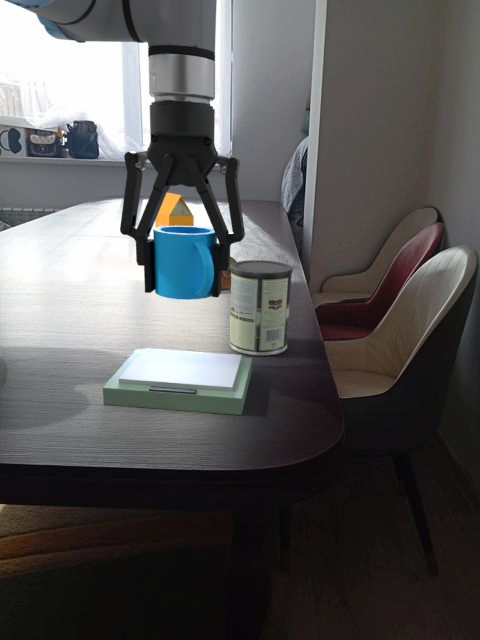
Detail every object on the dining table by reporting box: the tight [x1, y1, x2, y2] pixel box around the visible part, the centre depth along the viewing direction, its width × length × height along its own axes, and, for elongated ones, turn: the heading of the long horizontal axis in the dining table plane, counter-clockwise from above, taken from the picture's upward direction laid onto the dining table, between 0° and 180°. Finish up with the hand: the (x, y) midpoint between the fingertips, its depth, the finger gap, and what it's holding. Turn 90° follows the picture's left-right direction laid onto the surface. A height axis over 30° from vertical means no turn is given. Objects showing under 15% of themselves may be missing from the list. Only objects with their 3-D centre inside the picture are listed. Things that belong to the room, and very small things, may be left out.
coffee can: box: [228, 259, 294, 357], centre depth 87 cm, size 10×10×14 cm
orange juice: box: [154, 192, 195, 228], centre depth 145 cm, size 8×9×20 cm
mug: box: [152, 225, 218, 301], centre depth 66 cm, size 12×8×8 cm
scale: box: [102, 347, 253, 416], centre depth 72 cm, size 18×14×3 cm
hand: (183, 292), depth 68 cm, fingers closed on mug, 8 cm apart
